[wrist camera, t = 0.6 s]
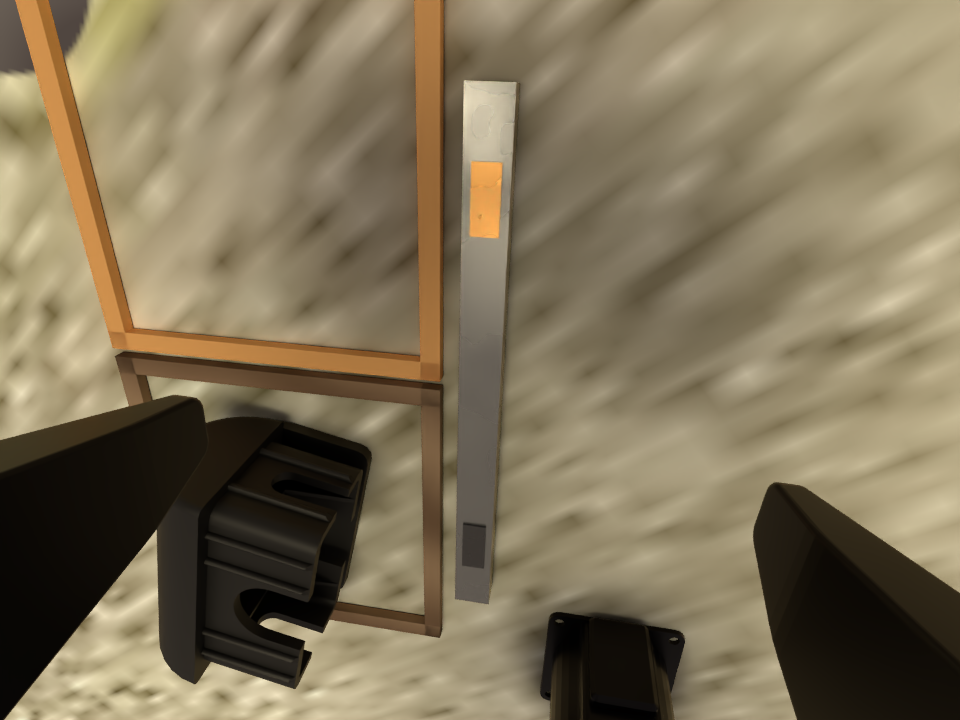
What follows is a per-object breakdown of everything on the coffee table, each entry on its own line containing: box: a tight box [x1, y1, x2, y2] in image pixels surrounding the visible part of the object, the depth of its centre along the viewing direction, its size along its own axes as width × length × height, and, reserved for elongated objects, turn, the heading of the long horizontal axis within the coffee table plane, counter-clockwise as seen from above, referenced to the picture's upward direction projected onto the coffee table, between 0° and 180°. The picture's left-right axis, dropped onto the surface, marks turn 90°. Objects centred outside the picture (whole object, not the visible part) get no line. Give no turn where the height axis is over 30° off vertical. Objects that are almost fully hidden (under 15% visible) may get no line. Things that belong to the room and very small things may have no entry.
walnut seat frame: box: [115, 352, 443, 638], centre depth 27 cm, size 15×15×1 cm
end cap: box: [157, 417, 372, 689], centre depth 24 cm, size 10×7×7 cm
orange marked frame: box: [15, 0, 444, 382], centre depth 20 cm, size 15×15×1 cm
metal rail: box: [455, 81, 520, 604], centre depth 22 cm, size 22×2×1 cm, turn 178°
